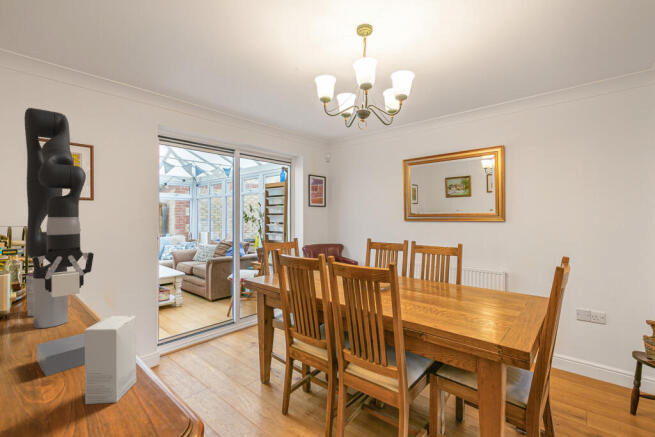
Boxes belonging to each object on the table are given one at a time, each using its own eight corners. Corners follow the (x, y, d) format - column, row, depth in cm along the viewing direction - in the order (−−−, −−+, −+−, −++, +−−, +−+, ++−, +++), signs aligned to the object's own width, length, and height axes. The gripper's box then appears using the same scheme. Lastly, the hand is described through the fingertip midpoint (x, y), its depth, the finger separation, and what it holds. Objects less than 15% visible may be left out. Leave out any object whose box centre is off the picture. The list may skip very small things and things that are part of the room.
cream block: (50, 293, 91) (50, 273, 91) (76, 289, 96) (76, 270, 95) (52, 297, 87) (52, 276, 87) (79, 293, 91) (79, 273, 91)
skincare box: (109, 383, 71) (107, 315, 71) (139, 381, 72) (138, 314, 71) (83, 405, 63) (82, 329, 62) (117, 403, 63) (116, 327, 63)
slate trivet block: (37, 363, 82) (36, 344, 82) (92, 347, 91) (92, 331, 91) (46, 377, 75) (45, 357, 75) (105, 359, 84) (105, 341, 84)
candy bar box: (56, 308, 131) (55, 269, 131) (65, 308, 130) (65, 269, 130) (25, 316, 120) (25, 274, 120) (36, 317, 120) (35, 274, 119)
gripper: (91, 231, 99) (92, 283, 99) (29, 233, 89) (30, 292, 89) (96, 232, 94) (97, 287, 94) (30, 234, 83) (31, 296, 84)
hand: (64, 289), depth 91 cm, fingers closed on cream block, 6 cm apart
